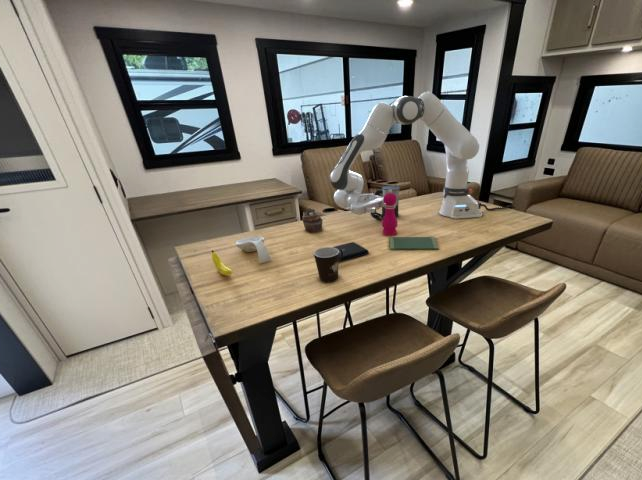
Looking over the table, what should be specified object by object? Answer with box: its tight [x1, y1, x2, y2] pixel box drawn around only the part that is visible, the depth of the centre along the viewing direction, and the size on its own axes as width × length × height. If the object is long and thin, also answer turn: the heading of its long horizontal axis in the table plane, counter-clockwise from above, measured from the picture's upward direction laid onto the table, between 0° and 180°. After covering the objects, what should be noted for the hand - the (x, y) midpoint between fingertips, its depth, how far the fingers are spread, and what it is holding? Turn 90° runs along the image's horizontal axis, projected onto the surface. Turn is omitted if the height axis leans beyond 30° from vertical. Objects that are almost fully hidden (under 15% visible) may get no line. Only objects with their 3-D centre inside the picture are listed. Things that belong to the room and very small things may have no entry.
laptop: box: [332, 241, 370, 262], centre depth 129 cm, size 16×20×2 cm
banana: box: [211, 250, 233, 277], centre depth 115 cm, size 3×19×6 cm, turn 40°
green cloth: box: [389, 236, 439, 251], centre depth 137 cm, size 20×13×1 cm, turn 88°
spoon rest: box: [235, 236, 272, 264], centre depth 130 cm, size 24×12×7 cm, turn 36°
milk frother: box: [369, 185, 401, 221], centre depth 165 cm, size 14×16×15 cm
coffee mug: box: [313, 246, 343, 284], centre depth 110 cm, size 12×9×10 cm
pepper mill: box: [381, 190, 398, 237], centre depth 143 cm, size 7×7×20 cm
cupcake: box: [301, 208, 324, 234], centre depth 152 cm, size 10×10×10 cm
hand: (381, 208), depth 146 cm, fingers open, 8 cm apart
